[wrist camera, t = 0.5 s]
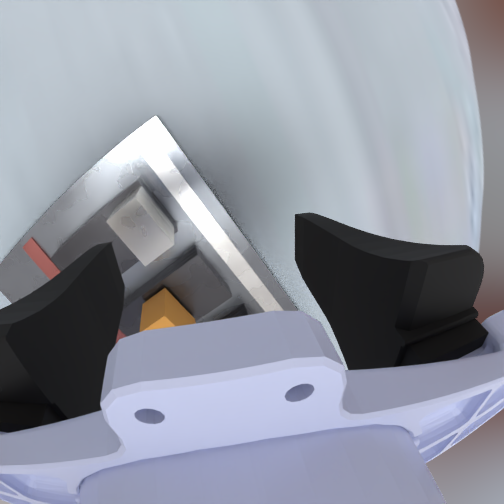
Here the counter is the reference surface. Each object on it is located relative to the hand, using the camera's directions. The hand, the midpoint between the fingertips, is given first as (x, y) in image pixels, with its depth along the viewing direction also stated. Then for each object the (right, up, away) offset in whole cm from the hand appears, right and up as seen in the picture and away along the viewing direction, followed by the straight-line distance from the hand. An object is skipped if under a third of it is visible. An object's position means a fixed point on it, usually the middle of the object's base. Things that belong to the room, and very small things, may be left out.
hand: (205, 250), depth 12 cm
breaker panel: (-5, -5, +12) cm, 14 cm away
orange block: (-4, -4, +9) cm, 10 cm away
